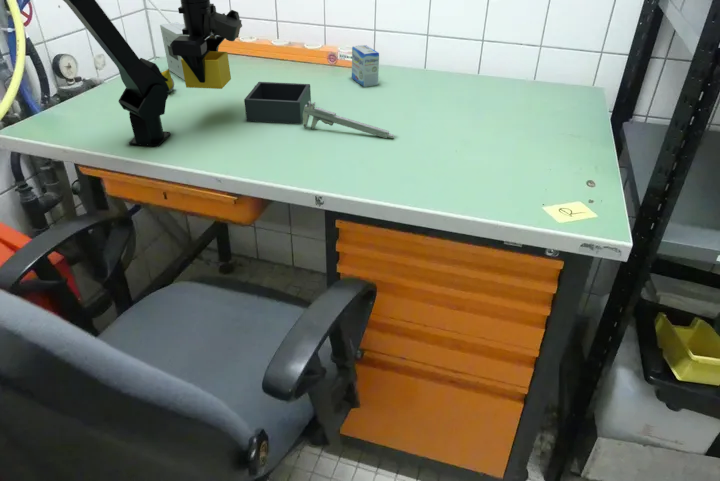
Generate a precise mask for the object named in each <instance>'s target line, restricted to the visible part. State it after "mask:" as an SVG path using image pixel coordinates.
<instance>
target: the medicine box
mask: <svg viewBox="0 0 720 481" xmlns="http://www.w3.org/2000/svg"><path fill="white" fill-rule="evenodd" d="M379 69H380V53H379V51H377V50H375V49H373V48H372V47H370V46H368V45H367V44H366V45H365V44H364V45H363V44H361V45H353V46H352V47H351V79H352V80H353V81H354V82H356V83H358V84H359V85H361V86H362V87H363V88H366V87H375V86H379Z"/></svg>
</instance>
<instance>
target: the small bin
mask: <svg viewBox="0 0 720 481" xmlns="http://www.w3.org/2000/svg"><path fill="white" fill-rule="evenodd" d="M181 63H182V68H183V73H184V79H185V80H184V82H185V88H186V89H187V88H188V89H191V88H192V89H212V90H213V89H214V90H217V89H218V90H223V89H224V87H226V85H227V84H228V83H229V82H230V81H231V80H232V77H231V76H232V75H231V69H230V68H231V67H230V61H229V54H228V51H218V52H217V51H210V52H209V53H208V55H207V56H206V57H205V82H204V83H201V82H199V80H198V79H197V77H196V76H195V75H194V73H193V72H192V70H191V69H190V67H189V66H188V65H187V63H186V62H185V61H184V60H183V58H182V59H181Z"/></svg>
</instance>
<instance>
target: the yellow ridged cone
mask: <svg viewBox="0 0 720 481" xmlns="http://www.w3.org/2000/svg"><path fill="white" fill-rule="evenodd" d="M161 74H162V75H163V76H164V77H165V78H167V79H168V81H165V82H166V83H167V85H168V87H169V94H170V93H172V92H173V90H174V88H175V81H174V79H173V77H172V76H171V75H172V74H171V71H170V70H169V68H168V69H166V70H164V71H161Z"/></svg>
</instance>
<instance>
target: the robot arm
mask: <svg viewBox="0 0 720 481" xmlns="http://www.w3.org/2000/svg"><path fill="white" fill-rule="evenodd" d="M62 1H63V2H64V3H65V4H66V5H67V7H69V9H70V10H71V11H72V13H73V14H74V15H75V16H76V18H77V19H78V20H79V21H80V22H81V23H82V25H83V26H84V27H85V29H86V30H87V31H88V32H89V34H90V35H91V36H92V37H93V38H94V40H95V41H96V42H97V43H98V45H99V46H100V47H101V49H102V50H103V51H104V52H105V53H106V55H107V56H108V58H110V60H111V62H113V64H114V65H115V66H116V68H117V70H118V72H119V75H120V79H121V81H122V83H123V85H124V86H125V89H124V90H123V92H122V94H121V96H120V97H119V99H118V103H119V105H120V107H121V108H122V109H123V110H125V111H127V112H128V115H129V122H130V125H131V128H132V133H133V138H132V139H130V140H129V142H128V144H129V145H130V146H143V147H160V146H161V145H162V144H163V143H164V142H165V141H166V140H167V139H168V138H169V137H170V136H171V132H170V131H165V130H164V128H163V123H162V118H161V116H162V115H165V113H166V106H167V100H168V98H169V95H170V93H169V87H168V85H167V83H166V82H165V81H168V79H167V78H165V77H164V76H163V75H162V74H161V73H162V71H161V70H160V68H159V66H158V65H157V63H155V62H153V61H150V60H148V59H145V58H144V57H140V58H139V56H138V55H137V54H136V53H135V51H134V49H133V48H132V47H131V46H130V44H129V43H128V42H127V40H126V39H125V38H124V37H123V35H122V34H121V32H120V31H119V30H118V29H117V27H116V26H115V25H114V23H113V22H112V20H111V19H110V18H109V16H108V15H107V14H106V12H105V11H104V10H103V8H102V7H101V6H100V5H99V3H98V2H97V1H96V0H62ZM177 10H178V14H181V15H182V18H183V17H184V19H183V24H184V23H185V28H184V29H182V32H183V35H189V36H179V37H177V38H176V39H175V40H173V42H172V43H171V44H170V48H171V53H172V55H178V56H181V57H182V58H183V60H184V61H185V62H186V63H187V65H188V66H189V67H190V69H191V70H192V72H193V73H194V75H195V76H196V77H197V79H198V80H199V82H201V83H204V82H205V57H206V56H207V55H208V53H209V52H210V51H217V52H219V48H220V45H221V44H222V43H223V42H224V40H226V41H228V42H235V41H236V39H238V38H239V37H240V36H239V35H240V31H241V28H243V24H242V21H243V20H242V19H241V18H240V14H239V12H238V11H236V10H233V9H231V10H229V12H227V13H225V12H224V13H220V12H217V8H216V5H215V4H214V3H211V0H180V6H179V7H178V9H177Z"/></svg>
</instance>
